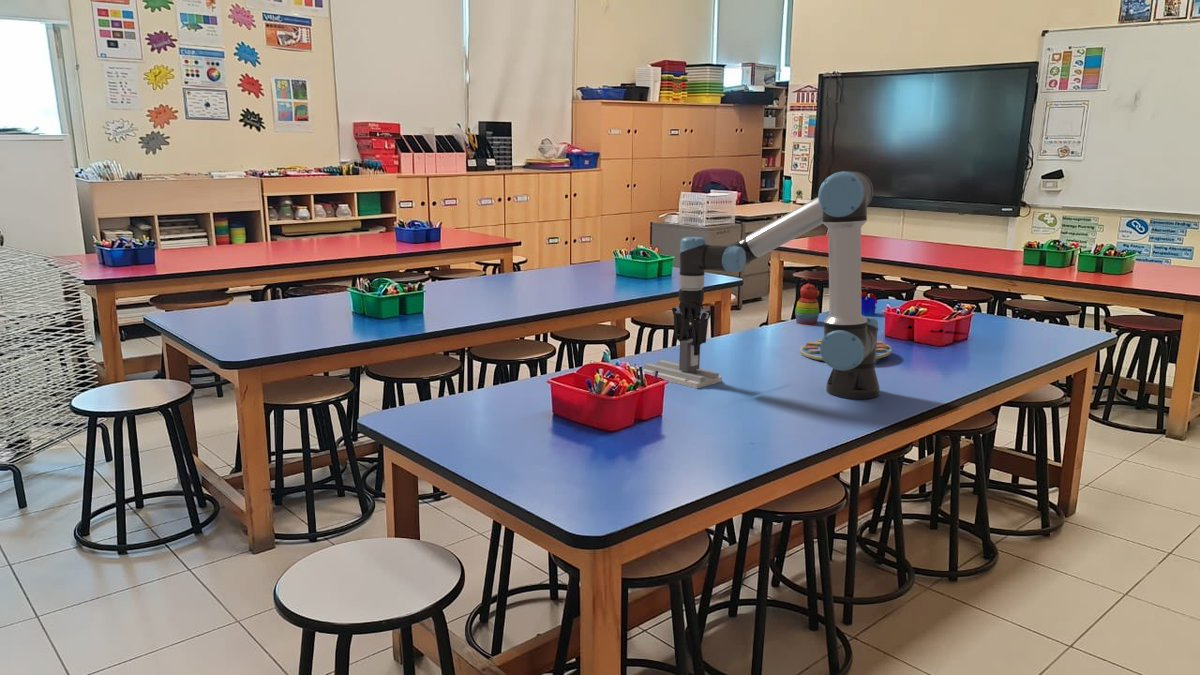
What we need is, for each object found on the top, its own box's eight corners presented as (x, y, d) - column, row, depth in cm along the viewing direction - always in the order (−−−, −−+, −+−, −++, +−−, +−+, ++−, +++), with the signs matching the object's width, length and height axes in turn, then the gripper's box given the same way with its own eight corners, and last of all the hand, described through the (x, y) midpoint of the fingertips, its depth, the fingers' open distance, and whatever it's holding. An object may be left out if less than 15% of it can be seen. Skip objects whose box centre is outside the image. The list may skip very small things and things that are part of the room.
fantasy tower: (873, 317, 374) (875, 290, 372) (883, 322, 363) (885, 294, 360) (846, 317, 374) (848, 290, 371) (855, 322, 362) (857, 294, 360)
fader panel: (721, 381, 267) (722, 372, 266) (696, 388, 258) (696, 378, 258) (665, 368, 283) (665, 359, 282) (640, 374, 274) (640, 365, 274)
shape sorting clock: (799, 345, 319) (799, 329, 318) (885, 350, 313) (887, 333, 312) (800, 365, 290) (801, 347, 289) (896, 370, 284) (897, 352, 283)
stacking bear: (818, 331, 344) (821, 286, 340) (792, 329, 347) (794, 285, 344) (821, 326, 354) (824, 283, 350) (796, 324, 357) (798, 281, 354)
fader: (699, 373, 269) (700, 340, 266) (686, 376, 265) (687, 342, 262) (691, 371, 271) (692, 338, 269) (679, 375, 267) (679, 341, 264)
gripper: (720, 290, 259) (717, 366, 264) (679, 284, 270) (677, 357, 275) (704, 293, 254) (702, 371, 259) (663, 286, 265) (661, 361, 270)
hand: (689, 364), depth 267 cm, fingers closed on fader, 3 cm apart
